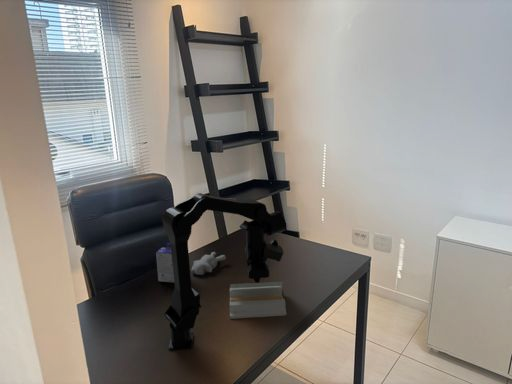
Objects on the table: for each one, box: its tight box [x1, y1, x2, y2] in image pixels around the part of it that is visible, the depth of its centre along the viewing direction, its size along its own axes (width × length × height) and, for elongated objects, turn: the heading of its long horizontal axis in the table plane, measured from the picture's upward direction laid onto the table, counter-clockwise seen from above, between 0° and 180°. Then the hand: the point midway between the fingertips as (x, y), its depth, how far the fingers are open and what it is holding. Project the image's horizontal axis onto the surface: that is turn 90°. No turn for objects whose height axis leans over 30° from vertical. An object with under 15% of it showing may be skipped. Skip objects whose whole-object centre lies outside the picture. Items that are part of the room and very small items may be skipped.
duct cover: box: [229, 281, 284, 289], centre depth 125 cm, size 10×17×1 cm, turn 94°
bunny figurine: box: [190, 251, 227, 276], centre depth 152 cm, size 10×5×15 cm
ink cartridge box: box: [155, 242, 175, 284], centre depth 142 cm, size 10×6×14 cm, turn 78°
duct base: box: [229, 285, 287, 319], centre depth 126 cm, size 16×18×4 cm
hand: (257, 282), depth 121 cm, fingers closed, pressing on duct cover
